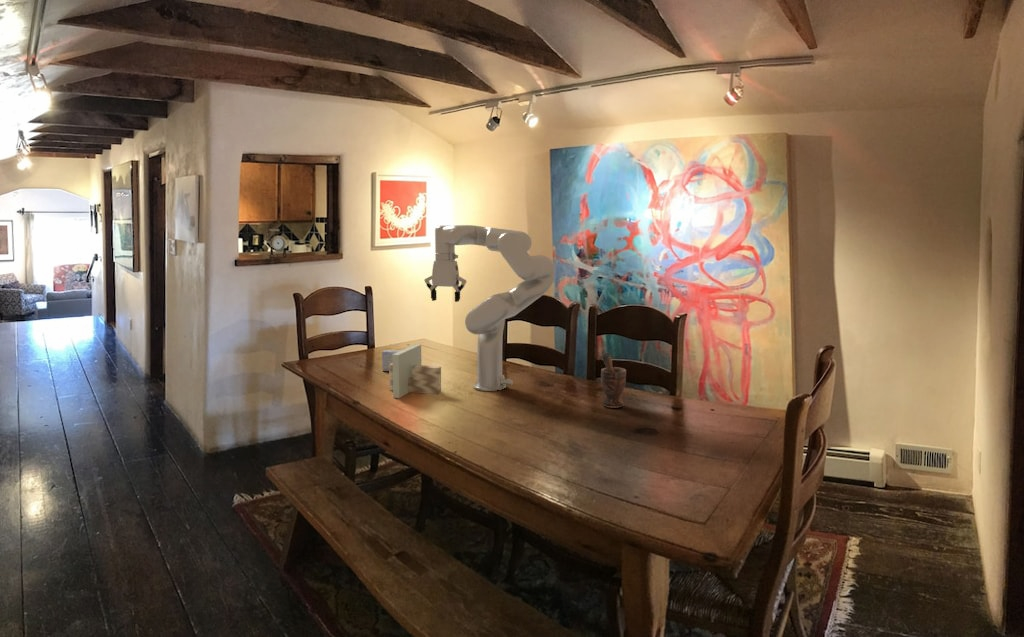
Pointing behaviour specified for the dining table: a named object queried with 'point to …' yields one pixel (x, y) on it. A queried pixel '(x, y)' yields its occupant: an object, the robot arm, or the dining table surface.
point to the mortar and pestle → (612, 382)
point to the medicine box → (387, 358)
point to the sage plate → (404, 368)
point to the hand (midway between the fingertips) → (445, 300)
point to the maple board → (421, 379)
